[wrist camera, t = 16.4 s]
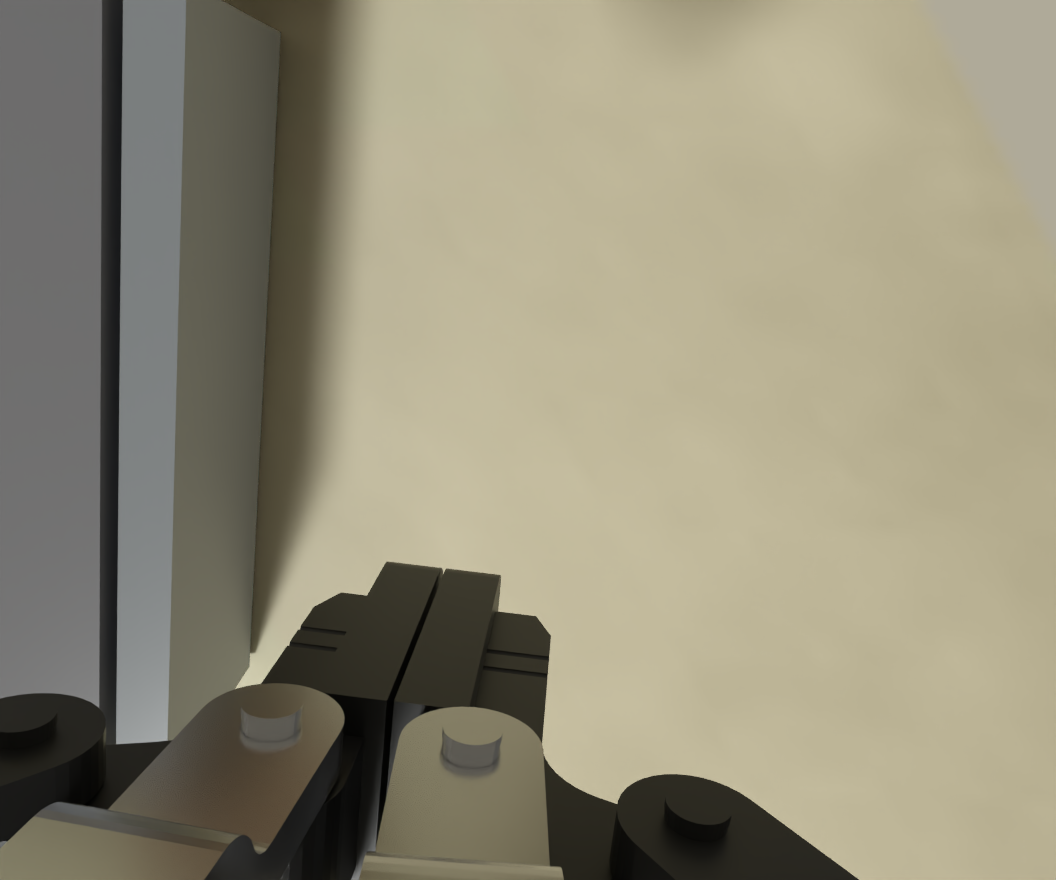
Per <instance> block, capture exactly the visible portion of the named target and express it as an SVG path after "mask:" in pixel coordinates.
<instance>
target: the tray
mask: <svg viewBox="0 0 1056 880" xmlns="http://www.w3.org/2000/svg"><path fill="white" fill-rule="evenodd" d="M280 37H281V32H279V31H277V30H275V29H273V28H271V27H270V26H268V25H266V24H264V23H262V22H260V21H259V20H257V19H255V18H253V17H251V16H249V15H248V14H246V13H244V12H242V11H240V10H238V9H237V8H235V7H233V6H231V5H229V4H227V3H226V2H224V1H222V0H123V60H122V167H121V274H120V381H119V487H118V594H117V701H116V744H128V743H144V742H159V741H169V740H173V739H174V738H175V737H176V736H177V735H178V734H179V733H180V732H181V731H182V729H183V728H184V727H185V726H186V725H187V724H188V723H189V722H190V721H191V720H192V719H193V718H194V717H195V716H196V714H197V713H198V712H199V711H200V710H201V709H202V708H203V707H204V706H205V705H206V704H208V703H209V702H210V701H211V700H213V699H215V698H216V697H218V696H220V695H222V694H224V693H226V692H229V691H232V690H234V689H235V688H236V686H237V685H238V683H239V682H240V680H241V678H242V677H243V675H244V674H245V672H246V671H247V669H248V668H249V661H250V641H251V621H252V601H253V580H254V560H255V540H256V520H257V500H258V480H259V460H260V440H261V420H262V399H263V379H264V359H265V339H266V319H267V299H268V279H269V259H270V239H271V218H272V198H273V178H274V158H275V138H276V118H277V98H278V78H279V57H280Z"/></svg>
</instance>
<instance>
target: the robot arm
mask: <svg viewBox="0 0 1056 880" xmlns="http://www.w3.org/2000/svg"><path fill="white" fill-rule="evenodd" d="M500 584H501V575H495V574H487V573H478V572H470V571H462V570H454V569H446V570H445V572H444V574H443V570H442V568H436V567H428V566H419V565H411V564H403V563H395V562H386V564H385V565H384V567H383V569H382V570H381V572H380V574H379V576H378V577H377V579H376V581H375V583H374V585H373V586H372V588H371V590H370V592H369V593H368V595H367V596H364V595H356V594H348V593H339V594H338V595H336V596H334V597H332V598H330V599H328V600H326V601H324V602H322V603H321V604H319V605H317V606H315V607H314V608H313V609H312V611H311V612H310V613H309V615H308V616H307V618H306V619H305V621H304V622H303V624H302V625H301V629H300V630H298V631H297V632H296V634H295V635H294V637H293V638H292V640H291V641H290V645H289V646H287V647H286V648H285V650H284V651H283V653H282V654H281V656H280V657H279V659H278V660H277V662H276V663H275V665H274V666H273V667H272V669H271V670H270V672H269V673H268V675H267V676H266V678H265V679H264V681H263V682H262V683H261V684H258V685H250V686H246V687H242V688H238V689H235V690H232V691H229V692H226V693H224V694H222V695H220V696H218V697H216V698H215V699H213V700H211V701H210V702H209V703H208V704H206V705H205V706H204V707H203V708H202V709H201V710H200V711H199V712H198V713H197V714H196V716H195V717H194V718H193V719H192V720H191V721H190V722H189V723H188V724H187V725H186V726H185V727H184V728H183V729H182V731H181V732H180V733H179V734H178V735H177V736H176V737H175V738H174V739H173V740H169V741H159V742H144V743H128V744H112V745H106V719H105V716H104V714H103V712H102V711H101V710H100V709H99V707H97V706H96V705H94V704H93V703H91V702H89V701H87V700H85V699H82V698H79V697H75V696H71V695H65V694H55V693H32V694H22V695H15V696H10V697H4V698H0V880H859V879H857V878H856V877H855V876H853V875H852V874H850V873H849V872H848V871H846V870H845V869H844V868H842V867H841V866H840V865H838V864H837V863H836V862H834V861H833V860H831V859H830V858H829V857H827V856H826V855H825V854H823V853H822V852H821V851H819V850H818V849H816V848H815V847H814V846H812V845H811V844H810V843H808V842H807V841H806V840H804V839H803V838H802V837H800V836H799V835H797V834H796V833H795V832H793V831H792V830H791V829H789V828H788V827H787V826H785V825H784V824H783V823H781V822H780V821H778V820H777V819H776V818H774V817H773V816H772V815H770V814H769V813H768V812H766V811H765V810H764V809H762V808H761V807H759V806H758V805H757V804H755V803H754V802H753V801H751V800H750V799H748V798H747V797H745V796H744V795H742V794H741V793H739V792H737V791H735V790H733V789H731V788H729V787H727V786H725V785H722V784H720V783H717V782H714V781H711V780H707V779H704V778H699V777H694V776H688V775H678V774H667V775H657V776H651V777H648V778H644V779H641V780H639V781H637V782H635V783H633V784H632V785H630V786H629V787H627V788H626V789H625V790H624V792H623V793H622V794H621V796H620V798H619V800H618V804H615V803H612V802H609V801H606V800H603V799H600V798H598V797H595V796H592V795H590V794H587V793H585V792H583V791H581V790H579V789H577V788H576V787H574V786H572V785H571V784H569V783H568V782H566V781H565V780H563V779H562V778H561V777H560V776H559V775H558V774H556V773H555V771H554V770H553V769H552V768H551V767H550V766H549V764H548V762H547V761H546V759H545V757H544V754H543V747H542V736H543V724H544V712H545V700H546V688H547V675H548V663H549V651H550V639H551V636H550V634H549V633H548V632H547V630H546V629H545V628H544V626H543V625H542V624H541V622H540V621H539V620H538V618H537V617H536V616H529V615H521V614H513V613H505V612H498V605H499V595H500Z"/></svg>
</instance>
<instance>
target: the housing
mask: <svg viewBox="0 0 1056 880" xmlns="http://www.w3.org/2000/svg"><path fill="white" fill-rule="evenodd" d="M122 60H123V0H0V698H4V697H10V696H15V695H22V694H32V693H55V694H65V695H71V696H75V697H79V698H82V699H85V700H87V701H89V702H91V703H93V704H94V705H96V706H97V707H99V709H100V710H101V711H102V712H103V714H104V716H105V719H106V745H112V744H116V701H117V594H118V487H119V381H120V274H121V167H122Z"/></svg>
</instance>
